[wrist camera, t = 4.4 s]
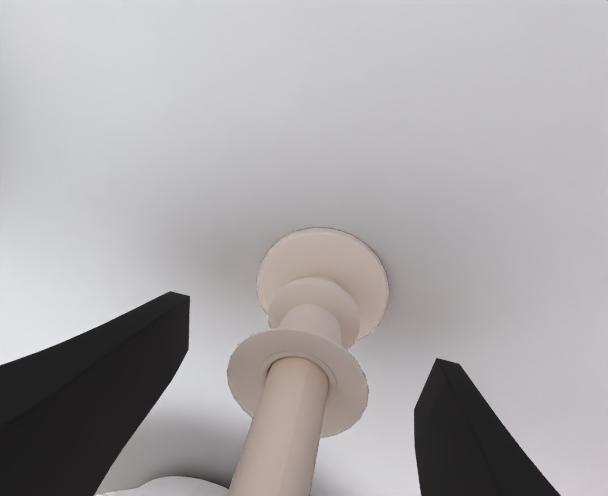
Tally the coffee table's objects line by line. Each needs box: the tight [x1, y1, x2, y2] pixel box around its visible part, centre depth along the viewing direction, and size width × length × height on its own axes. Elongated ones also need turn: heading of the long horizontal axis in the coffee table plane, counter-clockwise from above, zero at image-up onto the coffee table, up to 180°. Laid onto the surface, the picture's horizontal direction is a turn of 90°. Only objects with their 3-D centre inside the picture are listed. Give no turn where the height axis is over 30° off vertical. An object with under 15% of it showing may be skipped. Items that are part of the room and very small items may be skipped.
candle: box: [227, 227, 389, 496], centre depth 10 cm, size 5×5×10 cm
